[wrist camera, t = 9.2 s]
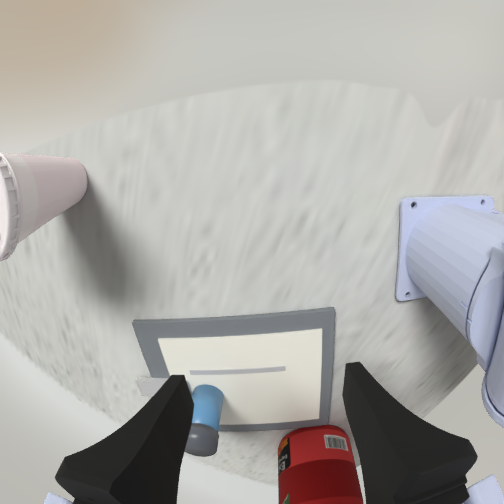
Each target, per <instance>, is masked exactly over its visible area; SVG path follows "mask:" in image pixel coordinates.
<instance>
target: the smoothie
mask: <svg viewBox="0 0 504 504" xmlns="http://www.w3.org/2000/svg"><path fill="white" fill-rule="evenodd" d="M86 189H87V174H86V171H85V168H84V167H83V165H82V164H81V163H80V162H79V161H78V160H76V159H74V158H67V157H55V156H42V155H27V154H12V153H1V152H0V261H2V260H5V259H8V257H9V256H10V255H11V254H12V253H13V252H14V250H15V248H16V246H17V244H18V243H19V242H21V241H22V240H24V239H25V238H26V237H27V236H29V235H30V234H32V233H33V232H34V231H36V230H37V229H39V228H40V227H41V226H43V225H44V224H46V223H47V222H49V221H50V220H52V219H53V218H55V217H56V216H58V215H59V214H61V213H62V212H64V211H65V210H67V209H68V208H70V207H71V206H73V205H75V204H76V203H78V202H79V201H80V200H81V199H82V198H83V196H84V195H85V192H86Z"/></svg>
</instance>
